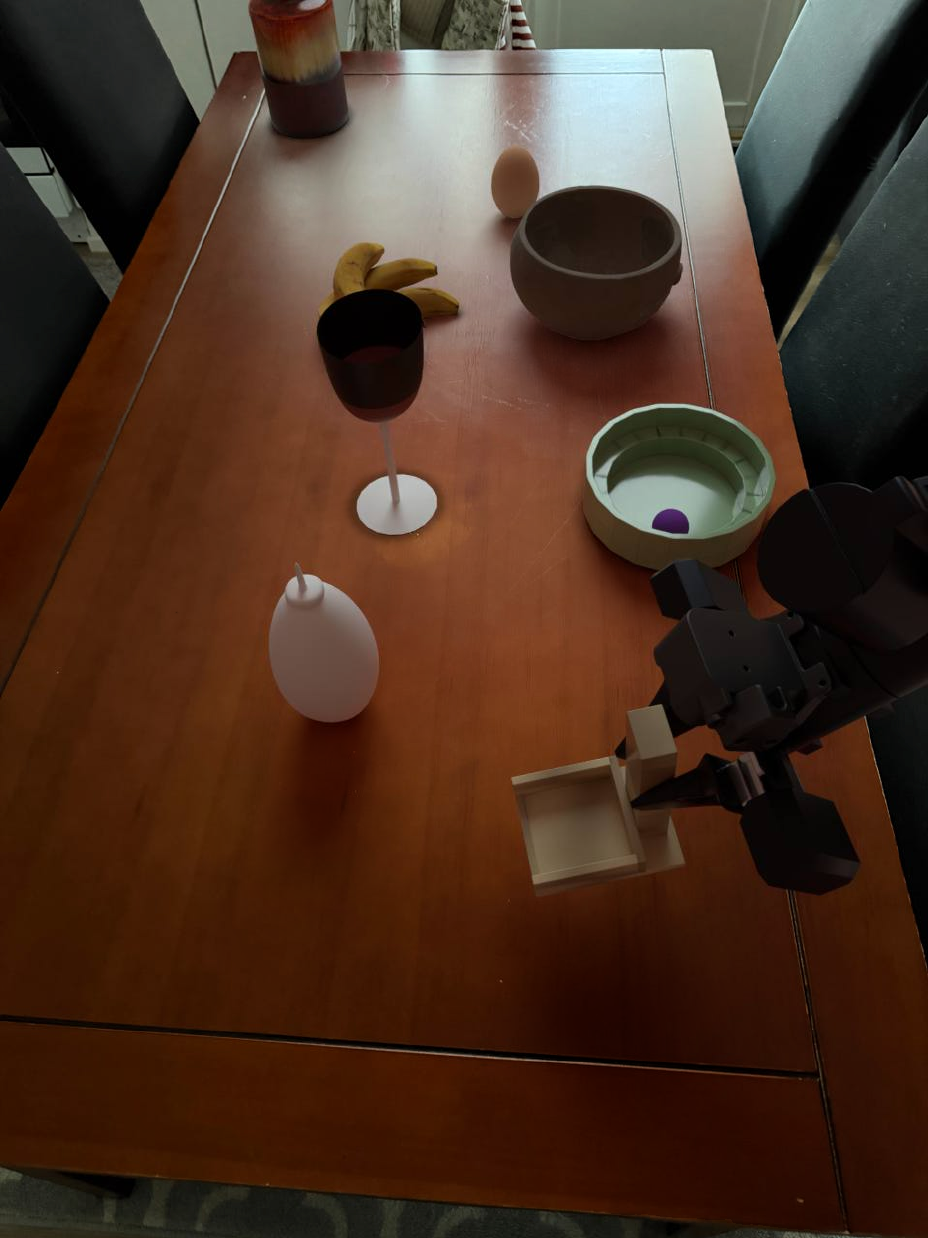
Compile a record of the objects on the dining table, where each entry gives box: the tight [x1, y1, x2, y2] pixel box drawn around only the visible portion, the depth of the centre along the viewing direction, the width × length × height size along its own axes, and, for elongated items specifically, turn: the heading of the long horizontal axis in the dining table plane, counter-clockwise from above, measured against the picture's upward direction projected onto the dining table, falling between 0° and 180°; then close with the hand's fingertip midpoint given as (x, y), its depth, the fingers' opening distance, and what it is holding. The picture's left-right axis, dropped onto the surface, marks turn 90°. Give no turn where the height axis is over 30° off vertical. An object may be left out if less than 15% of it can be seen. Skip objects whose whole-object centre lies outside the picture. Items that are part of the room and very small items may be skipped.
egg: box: [490, 145, 541, 219], centre depth 107 cm, size 6×6×8 cm
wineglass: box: [316, 289, 438, 536], centre depth 76 cm, size 8×9×20 cm
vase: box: [247, 0, 350, 139], centre depth 117 cm, size 11×11×20 cm
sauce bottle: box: [268, 562, 380, 723], centre depth 65 cm, size 8×8×18 cm
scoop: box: [510, 704, 686, 898], centre depth 53 cm, size 10×7×13 cm
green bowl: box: [581, 403, 777, 571], centre depth 81 cm, size 16×16×5 cm
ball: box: [652, 509, 689, 534], centre depth 79 cm, size 3×3×3 cm
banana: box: [318, 241, 460, 329], centre depth 97 cm, size 15×19×6 cm
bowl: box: [509, 184, 684, 341], centre depth 95 cm, size 17×18×10 cm
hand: (626, 780), depth 53 cm, fingers closed on scoop, 3 cm apart
